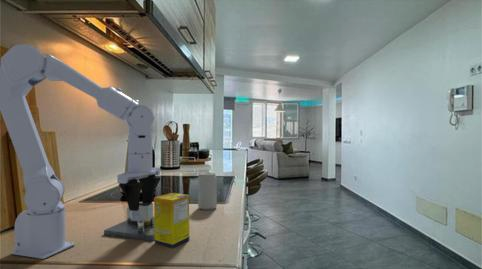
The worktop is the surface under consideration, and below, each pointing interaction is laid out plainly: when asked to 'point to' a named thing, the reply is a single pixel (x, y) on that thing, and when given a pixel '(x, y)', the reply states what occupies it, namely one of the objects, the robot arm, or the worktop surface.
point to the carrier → (133, 229)
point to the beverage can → (207, 191)
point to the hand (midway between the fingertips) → (140, 207)
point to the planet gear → (143, 212)
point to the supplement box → (171, 219)
